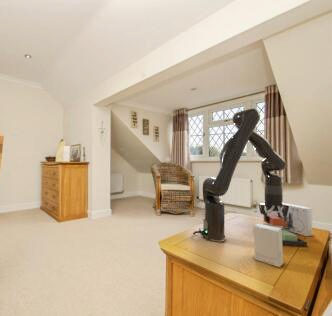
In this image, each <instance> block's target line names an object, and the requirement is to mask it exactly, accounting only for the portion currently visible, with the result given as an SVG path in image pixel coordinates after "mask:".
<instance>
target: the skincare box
mask: <svg viewBox="0 0 332 316" xmlns="http://www.w3.org/2000/svg"><path fill="white" fill-rule="evenodd" d="M282 204H283V205H288V206H289V209H288V213H287V216H283V219H284V226H273V225H270V224H268V223H266V222H264V225H267V226H272V227H278V228H281V230H286V231H288V232H290V233H293V234H296V235H297V234H298V235H301V236H305V237H312V236H313V208H312V207H307V206H302V205H297V204H291V203H286V202H282ZM264 209H266V206H265V208H264ZM281 210H282V208H281ZM268 211H269V210H268ZM270 215H275V216H278V214H277V212H276V211H272V212H271V213H270Z"/></svg>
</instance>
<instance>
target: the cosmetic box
mask: <svg viewBox="0 0 332 316" xmlns="http://www.w3.org/2000/svg"><path fill="white" fill-rule="evenodd" d="M282 230H283V229H281V228H278V227H273V226H270V225H266V224H261V223H256V224H255V225H253V245H254V260H256V261H258V262H262V263H265V264H268V265H270V266H274V267H277V268H280V267H281V266H282V265H283V264H284V248H283V247H284V245H282Z"/></svg>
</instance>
